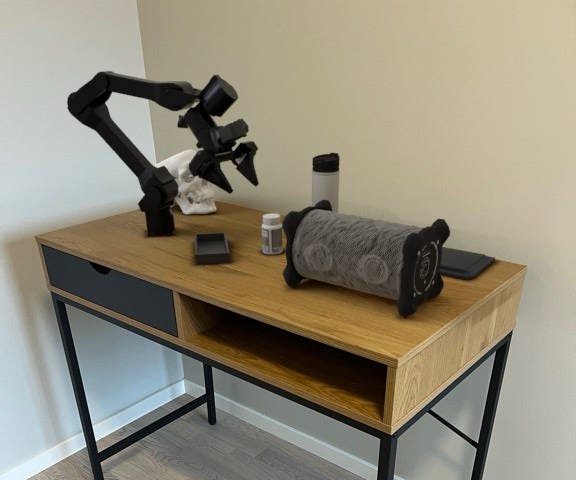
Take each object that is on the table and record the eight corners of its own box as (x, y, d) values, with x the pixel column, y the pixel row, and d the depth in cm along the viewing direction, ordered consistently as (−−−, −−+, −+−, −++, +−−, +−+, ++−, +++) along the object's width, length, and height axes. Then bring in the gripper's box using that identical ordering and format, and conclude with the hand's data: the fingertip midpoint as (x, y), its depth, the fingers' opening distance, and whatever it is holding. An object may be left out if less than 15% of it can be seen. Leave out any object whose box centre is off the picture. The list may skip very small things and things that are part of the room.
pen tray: (230, 262, 131) (229, 252, 130) (196, 264, 130) (195, 254, 129) (226, 241, 145) (225, 232, 144) (195, 243, 144) (194, 233, 143)
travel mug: (343, 241, 144) (346, 154, 134) (325, 247, 140) (327, 158, 130) (323, 236, 148) (325, 151, 138) (306, 242, 144) (306, 155, 134)
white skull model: (201, 213, 160) (172, 144, 156) (161, 236, 174) (134, 173, 170) (235, 203, 169) (209, 138, 165) (195, 226, 183) (170, 166, 180)
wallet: (383, 254, 129) (415, 237, 140) (382, 262, 130) (414, 245, 141) (470, 272, 119) (498, 253, 129) (468, 281, 120) (496, 261, 130)
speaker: (408, 323, 103) (417, 238, 95) (279, 287, 118) (277, 212, 110) (444, 296, 113) (455, 217, 106) (321, 267, 128) (322, 196, 121)
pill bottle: (283, 248, 140) (283, 212, 135) (281, 255, 136) (281, 218, 131) (263, 248, 140) (262, 212, 136) (261, 254, 136) (259, 218, 132)
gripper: (194, 110, 123) (237, 173, 123) (251, 103, 136) (289, 160, 136) (170, 145, 131) (210, 205, 131) (226, 136, 144) (262, 189, 144)
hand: (244, 188), depth 135 cm, fingers open, 9 cm apart
